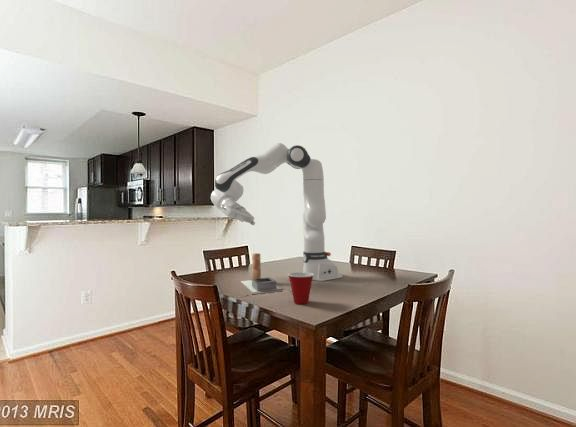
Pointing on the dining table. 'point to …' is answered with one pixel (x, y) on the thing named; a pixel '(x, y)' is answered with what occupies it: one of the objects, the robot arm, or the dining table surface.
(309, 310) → the dining table surface
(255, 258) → the peg
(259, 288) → the board
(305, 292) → the plastic cup
